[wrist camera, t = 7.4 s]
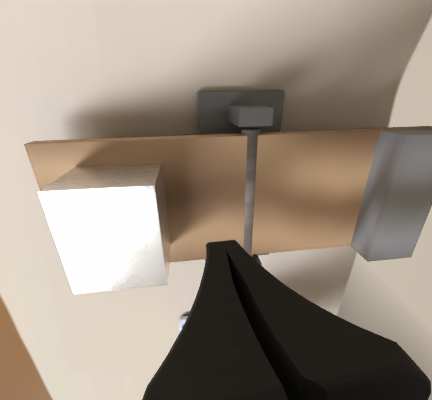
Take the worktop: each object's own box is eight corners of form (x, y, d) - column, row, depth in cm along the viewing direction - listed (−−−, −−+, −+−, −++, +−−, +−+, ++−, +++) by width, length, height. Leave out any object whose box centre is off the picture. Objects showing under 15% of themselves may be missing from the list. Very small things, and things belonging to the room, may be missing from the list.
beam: (389, 236, 21) (421, 259, 18) (76, 264, 18) (56, 296, 15) (428, 121, 17) (477, 127, 14) (33, 135, 14) (-4, 146, 11)
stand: (266, 250, 23) (283, 279, 19) (204, 257, 22) (210, 289, 18) (280, 90, 17) (308, 89, 13) (197, 91, 16) (203, 91, 13)
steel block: (170, 244, 17) (167, 285, 13) (97, 249, 16) (73, 294, 13) (161, 162, 14) (154, 185, 11) (75, 166, 14) (37, 191, 10)
